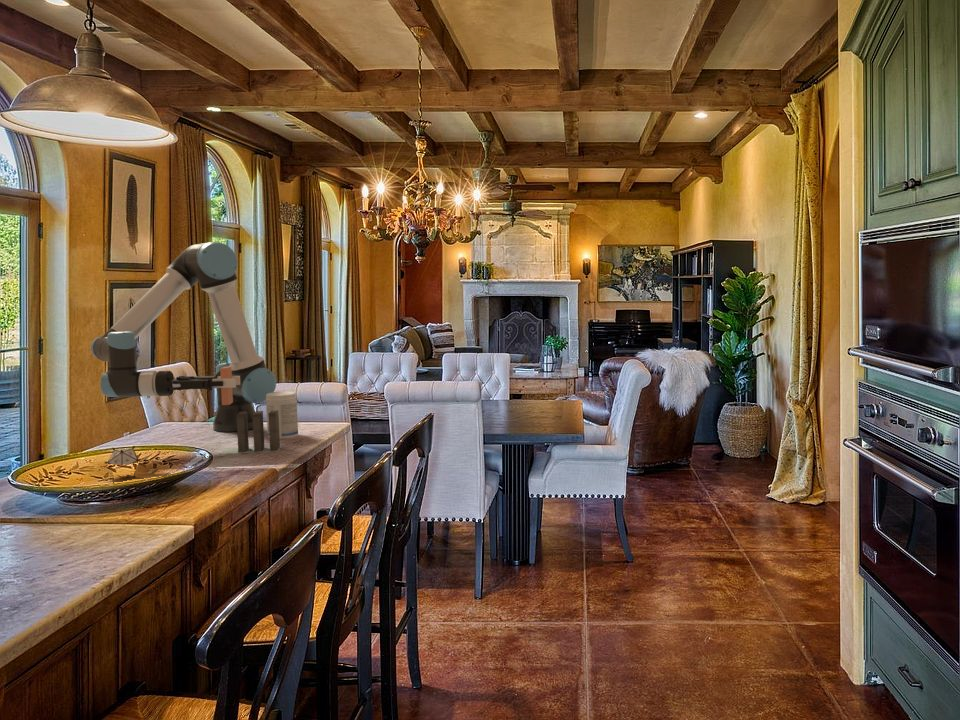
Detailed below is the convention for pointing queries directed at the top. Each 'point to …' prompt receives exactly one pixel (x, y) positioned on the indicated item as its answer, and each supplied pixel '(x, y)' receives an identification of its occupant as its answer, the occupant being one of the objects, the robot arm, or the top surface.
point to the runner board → (250, 450)
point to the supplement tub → (283, 412)
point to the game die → (123, 456)
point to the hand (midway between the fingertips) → (237, 381)
